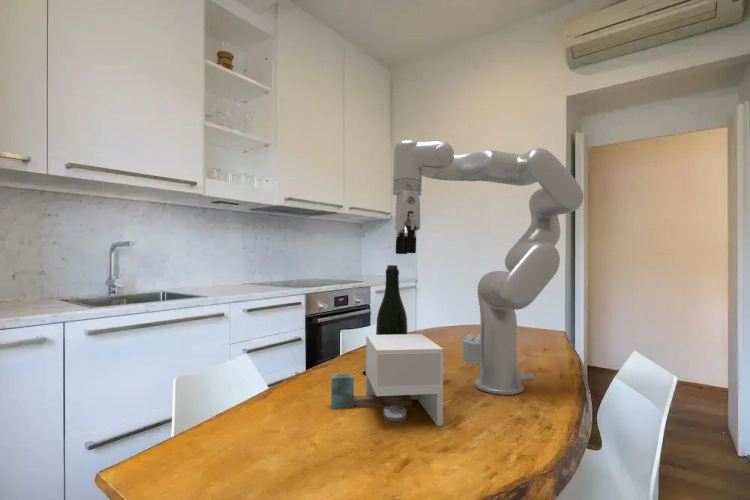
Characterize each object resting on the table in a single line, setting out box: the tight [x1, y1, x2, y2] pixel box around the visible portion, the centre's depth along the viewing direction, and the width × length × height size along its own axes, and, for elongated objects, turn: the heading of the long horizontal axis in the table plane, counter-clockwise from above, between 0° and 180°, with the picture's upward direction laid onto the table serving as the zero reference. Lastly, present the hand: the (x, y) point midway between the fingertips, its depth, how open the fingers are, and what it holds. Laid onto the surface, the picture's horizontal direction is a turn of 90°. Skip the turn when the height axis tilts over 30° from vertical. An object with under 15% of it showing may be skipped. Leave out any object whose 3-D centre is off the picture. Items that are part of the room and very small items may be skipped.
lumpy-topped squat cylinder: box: [462, 333, 480, 365], centre depth 135 cm, size 10×13×9 cm
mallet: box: [330, 373, 412, 410], centre depth 92 cm, size 19×3×7 cm, turn 98°
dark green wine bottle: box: [375, 264, 409, 335], centre depth 126 cm, size 10×10×33 cm
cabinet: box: [365, 333, 444, 427], centre depth 88 cm, size 14×17×16 cm
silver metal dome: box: [383, 405, 407, 423], centre depth 85 cm, size 5×5×2 cm
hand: (405, 253), depth 102 cm, fingers open, 9 cm apart
